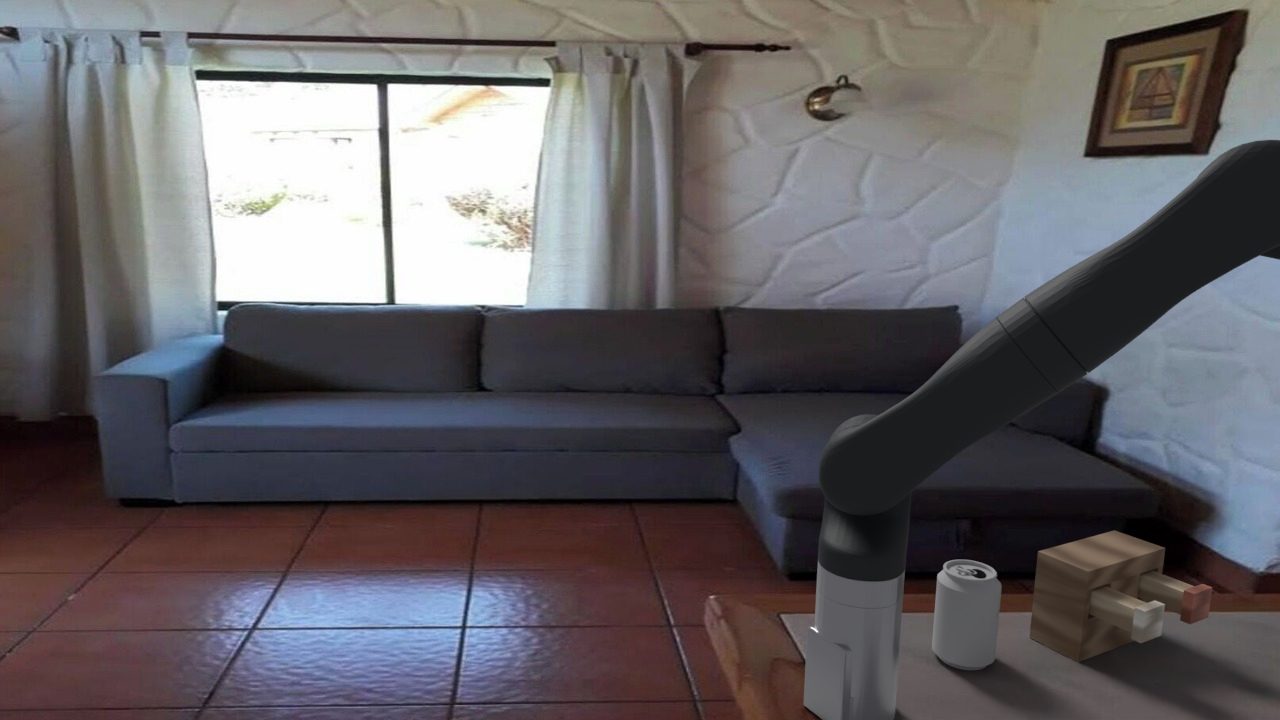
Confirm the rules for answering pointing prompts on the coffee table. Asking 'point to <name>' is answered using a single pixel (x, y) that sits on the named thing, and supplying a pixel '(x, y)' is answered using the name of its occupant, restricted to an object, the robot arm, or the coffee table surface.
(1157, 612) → the key cream
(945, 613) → the can
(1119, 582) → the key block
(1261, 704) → the coffee table surface
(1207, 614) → the key red
